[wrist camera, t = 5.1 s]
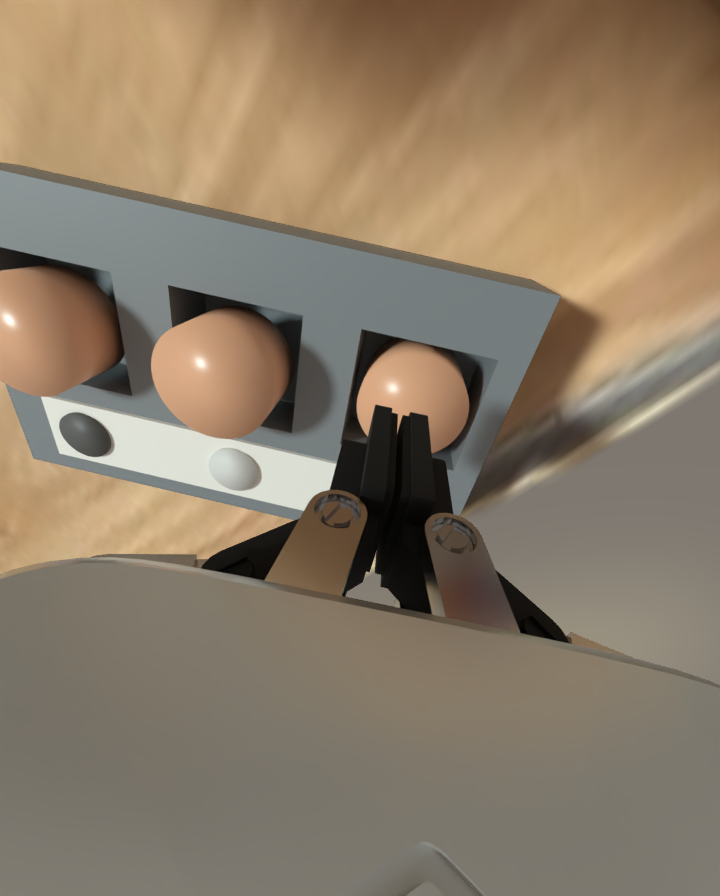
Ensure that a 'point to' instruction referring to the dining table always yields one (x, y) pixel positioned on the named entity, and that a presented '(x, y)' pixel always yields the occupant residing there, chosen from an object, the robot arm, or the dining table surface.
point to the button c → (416, 388)
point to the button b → (222, 371)
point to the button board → (286, 305)
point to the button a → (55, 329)
